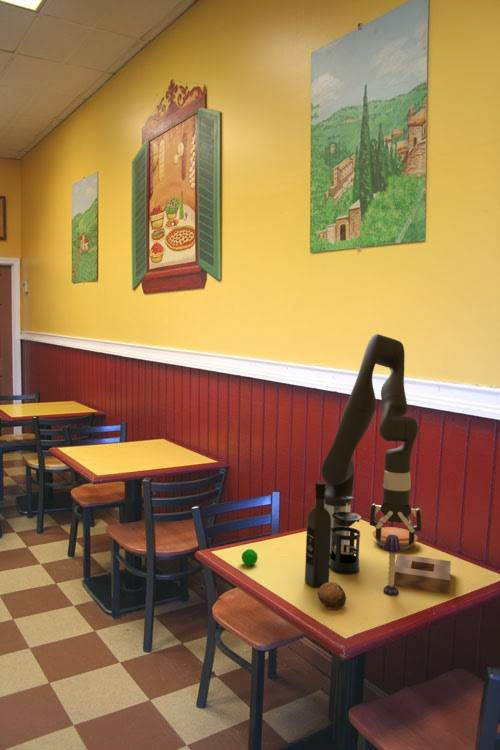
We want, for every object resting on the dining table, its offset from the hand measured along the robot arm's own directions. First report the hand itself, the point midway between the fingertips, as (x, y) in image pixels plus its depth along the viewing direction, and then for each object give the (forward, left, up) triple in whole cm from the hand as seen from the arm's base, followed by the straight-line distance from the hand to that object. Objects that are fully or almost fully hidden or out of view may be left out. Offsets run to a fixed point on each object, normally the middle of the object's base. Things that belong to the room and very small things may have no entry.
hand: (394, 542), depth 174 cm
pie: (-4, +42, -15) cm, 44 cm away
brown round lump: (-15, -15, -15) cm, 26 cm away
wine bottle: (-22, -2, -15) cm, 26 cm away
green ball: (-45, +4, -15) cm, 47 cm away
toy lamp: (-1, 0, -15) cm, 15 cm away
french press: (-17, +13, -15) cm, 26 cm away
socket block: (+7, +14, -15) cm, 21 cm away
